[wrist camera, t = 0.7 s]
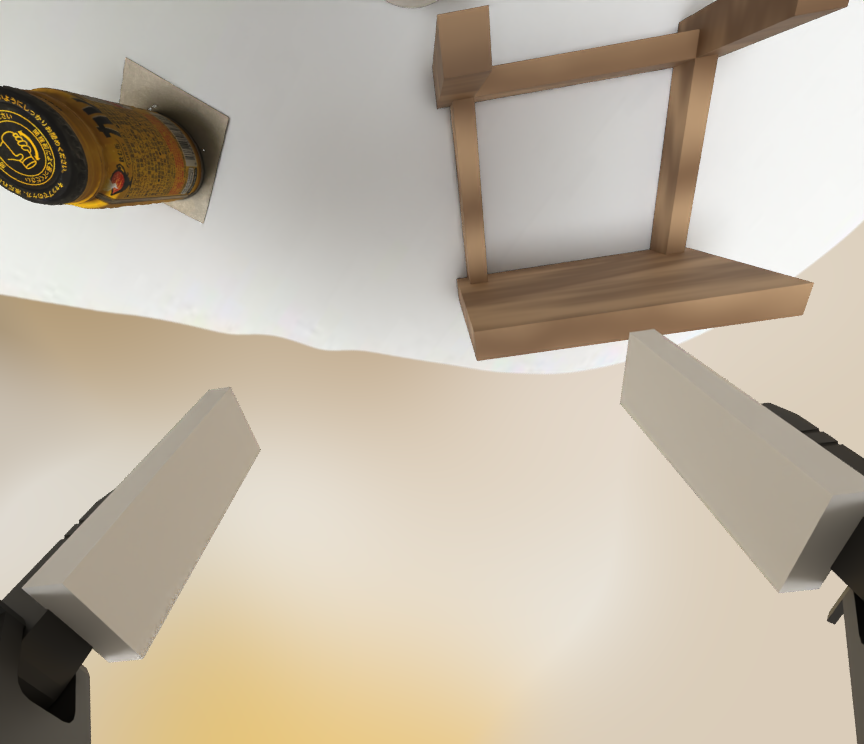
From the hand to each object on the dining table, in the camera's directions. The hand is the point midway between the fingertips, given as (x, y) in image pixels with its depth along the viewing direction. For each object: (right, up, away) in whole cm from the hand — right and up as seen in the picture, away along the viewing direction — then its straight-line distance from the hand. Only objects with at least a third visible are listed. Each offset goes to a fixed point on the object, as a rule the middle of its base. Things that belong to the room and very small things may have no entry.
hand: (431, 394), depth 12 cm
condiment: (-20, +18, +17) cm, 32 cm away
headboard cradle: (+11, +16, +18) cm, 27 cm away
